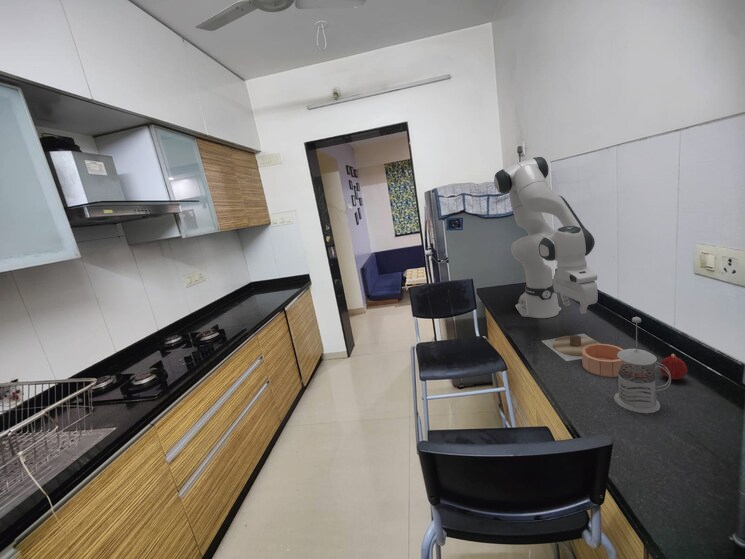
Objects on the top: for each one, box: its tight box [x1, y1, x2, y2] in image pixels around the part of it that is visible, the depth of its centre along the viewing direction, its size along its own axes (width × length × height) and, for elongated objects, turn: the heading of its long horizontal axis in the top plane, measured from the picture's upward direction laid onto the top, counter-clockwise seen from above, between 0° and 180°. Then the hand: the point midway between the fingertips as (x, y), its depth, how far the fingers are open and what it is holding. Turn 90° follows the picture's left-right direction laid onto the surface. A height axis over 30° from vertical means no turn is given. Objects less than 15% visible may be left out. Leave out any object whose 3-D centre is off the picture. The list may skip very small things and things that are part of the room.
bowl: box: [581, 343, 628, 378], centre depth 102 cm, size 12×12×6 cm
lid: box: [553, 334, 600, 356], centre depth 117 cm, size 15×15×4 cm
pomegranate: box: [659, 353, 688, 380], centre depth 91 cm, size 6×6×8 cm
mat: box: [541, 333, 601, 362], centre depth 118 cm, size 17×17×1 cm
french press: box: [613, 316, 672, 414], centre depth 83 cm, size 10×12×25 cm
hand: (574, 309), depth 114 cm, fingers open, 8 cm apart
